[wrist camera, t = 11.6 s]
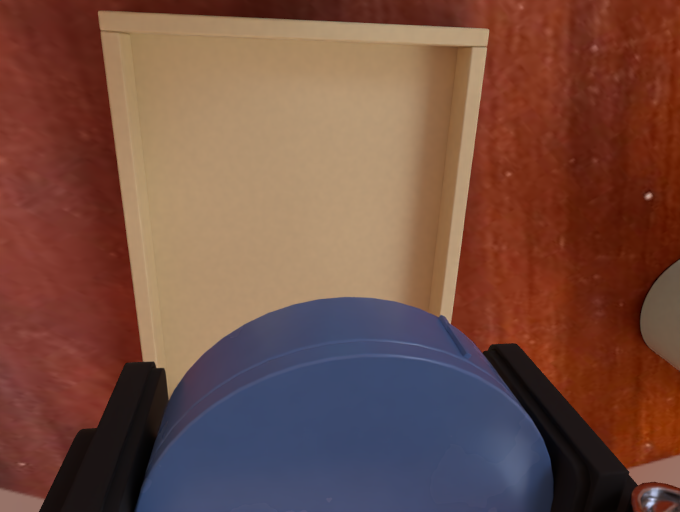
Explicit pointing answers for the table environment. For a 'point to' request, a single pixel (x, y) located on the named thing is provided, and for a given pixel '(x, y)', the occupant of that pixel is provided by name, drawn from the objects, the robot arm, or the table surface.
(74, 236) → the table surface
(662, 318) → the jam jar
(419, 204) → the tray
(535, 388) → the robot arm
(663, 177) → the table surface
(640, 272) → the table surface
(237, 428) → the lid
